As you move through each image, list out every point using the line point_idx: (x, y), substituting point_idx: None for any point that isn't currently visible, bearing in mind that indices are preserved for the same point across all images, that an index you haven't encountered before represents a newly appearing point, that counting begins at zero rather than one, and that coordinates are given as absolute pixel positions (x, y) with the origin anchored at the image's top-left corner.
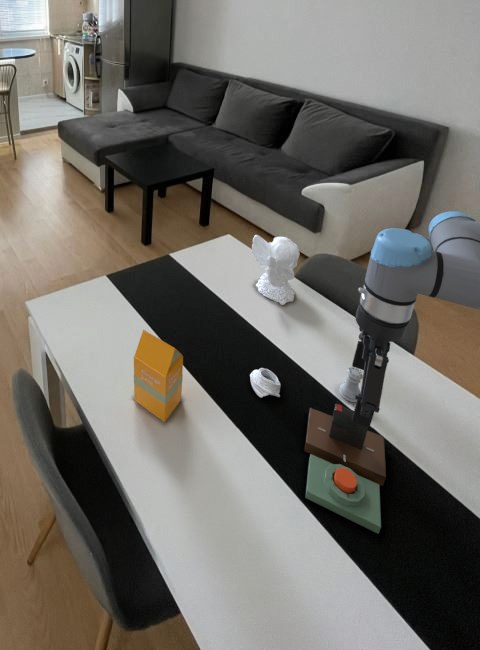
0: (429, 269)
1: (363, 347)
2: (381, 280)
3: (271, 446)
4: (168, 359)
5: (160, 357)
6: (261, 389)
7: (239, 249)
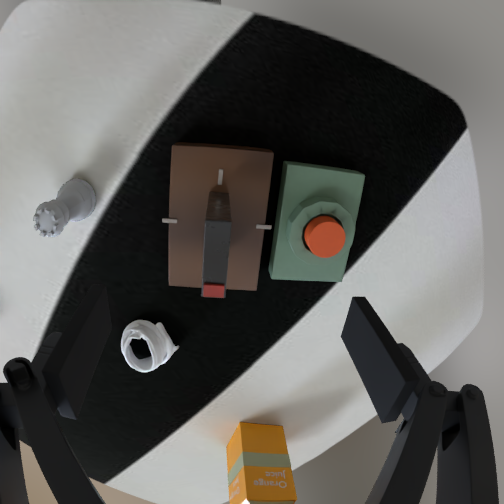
0: None
1: (75, 393)
2: None
3: (265, 322)
4: None
5: None
6: (170, 356)
7: None
